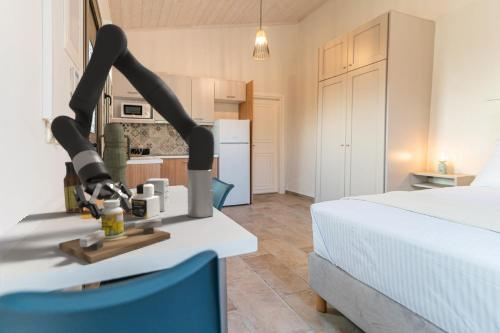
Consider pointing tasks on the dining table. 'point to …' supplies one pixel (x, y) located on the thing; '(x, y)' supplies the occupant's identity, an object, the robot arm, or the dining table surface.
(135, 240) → the shaft board
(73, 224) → the dining table surface
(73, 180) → the sauce bottle
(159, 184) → the supplement box
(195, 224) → the dining table surface
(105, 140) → the thermos
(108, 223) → the supplement bottle
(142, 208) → the medicine bottle
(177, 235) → the dining table surface
